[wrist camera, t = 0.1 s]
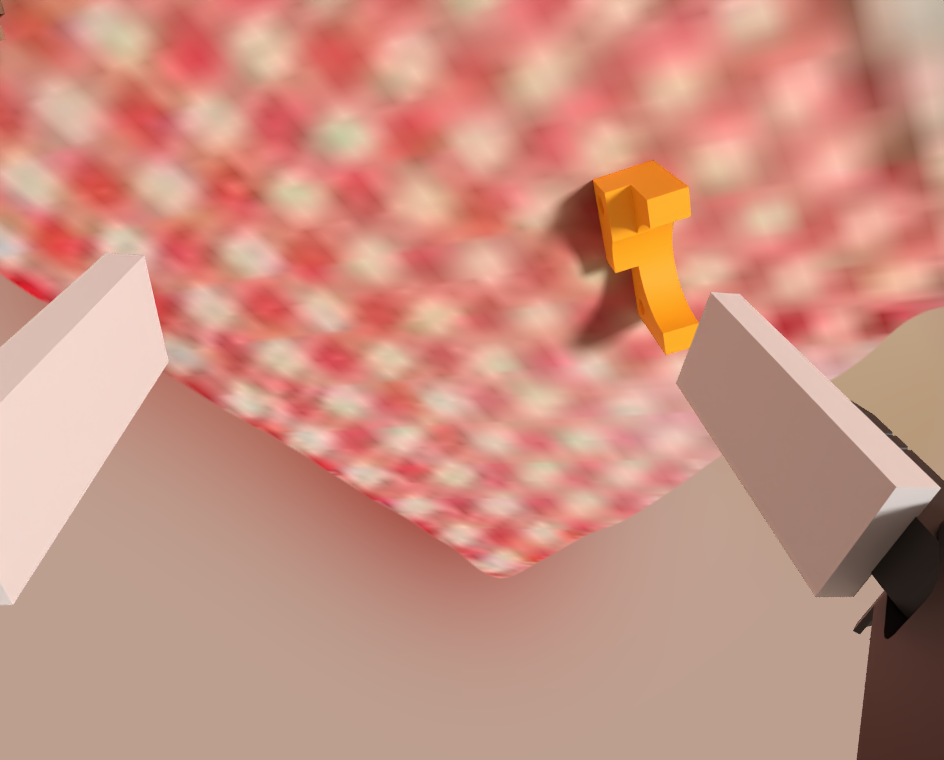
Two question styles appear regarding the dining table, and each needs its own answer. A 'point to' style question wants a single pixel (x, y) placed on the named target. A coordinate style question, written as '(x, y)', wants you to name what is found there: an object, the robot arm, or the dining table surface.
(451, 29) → the dining table surface
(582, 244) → the dining table surface
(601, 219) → the pipe clamp
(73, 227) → the dining table surface
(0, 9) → the stand
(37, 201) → the dining table surface
